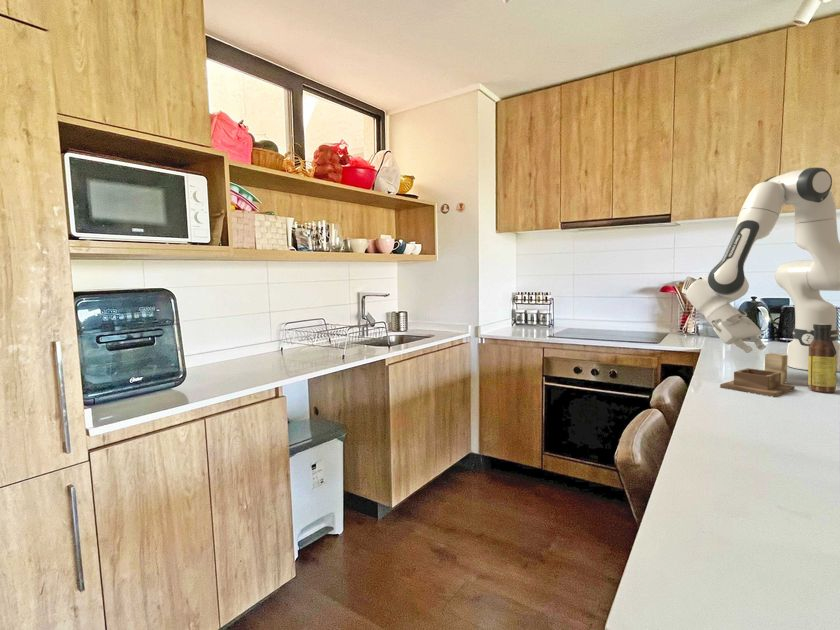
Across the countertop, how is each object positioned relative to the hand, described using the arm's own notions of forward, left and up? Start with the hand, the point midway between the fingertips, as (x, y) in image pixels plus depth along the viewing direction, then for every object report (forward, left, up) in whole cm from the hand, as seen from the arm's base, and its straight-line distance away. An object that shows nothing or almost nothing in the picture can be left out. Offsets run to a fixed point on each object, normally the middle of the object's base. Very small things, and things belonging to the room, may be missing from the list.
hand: (756, 350), depth 147 cm
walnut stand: (+13, +5, -10) cm, 17 cm away
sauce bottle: (+2, +17, -10) cm, 20 cm away
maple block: (0, +5, -10) cm, 11 cm away
